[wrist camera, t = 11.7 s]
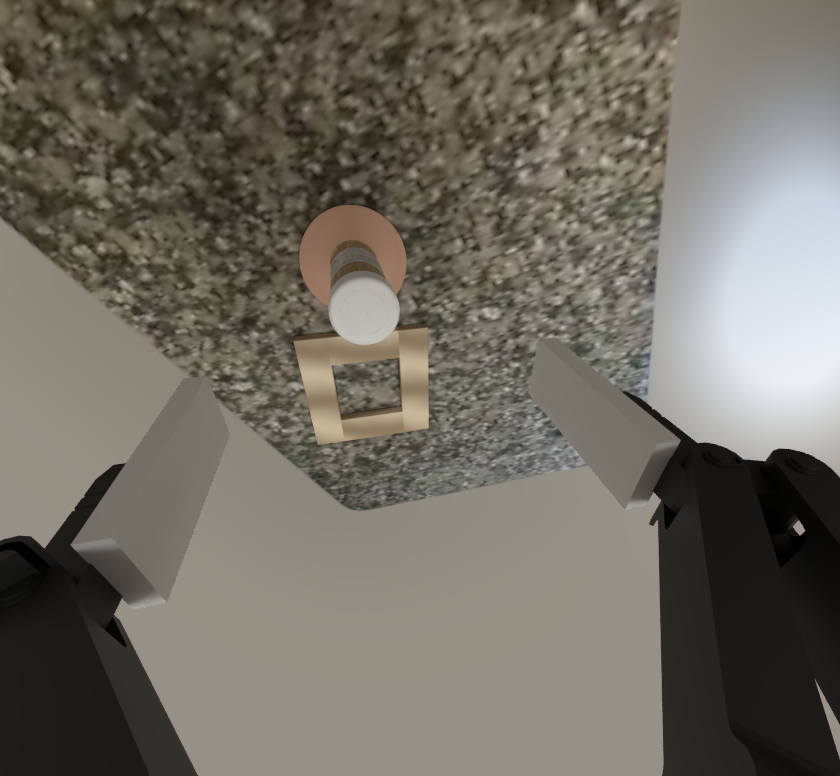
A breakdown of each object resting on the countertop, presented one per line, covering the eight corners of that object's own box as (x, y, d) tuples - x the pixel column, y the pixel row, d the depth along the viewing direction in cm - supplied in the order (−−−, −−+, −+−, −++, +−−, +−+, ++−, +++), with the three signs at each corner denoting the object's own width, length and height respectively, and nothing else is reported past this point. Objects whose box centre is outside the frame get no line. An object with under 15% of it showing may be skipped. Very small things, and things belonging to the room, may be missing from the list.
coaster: (289, 206, 30) (288, 207, 30) (402, 202, 32) (404, 203, 31) (310, 316, 36) (310, 319, 35) (407, 307, 37) (408, 310, 37)
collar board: (294, 336, 36) (293, 341, 35) (425, 323, 39) (427, 327, 38) (318, 438, 44) (317, 444, 43) (426, 422, 46) (428, 428, 45)
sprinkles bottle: (364, 296, 35) (380, 357, 24) (321, 274, 33) (316, 330, 22) (386, 254, 33) (414, 299, 22) (342, 228, 31) (347, 263, 20)
